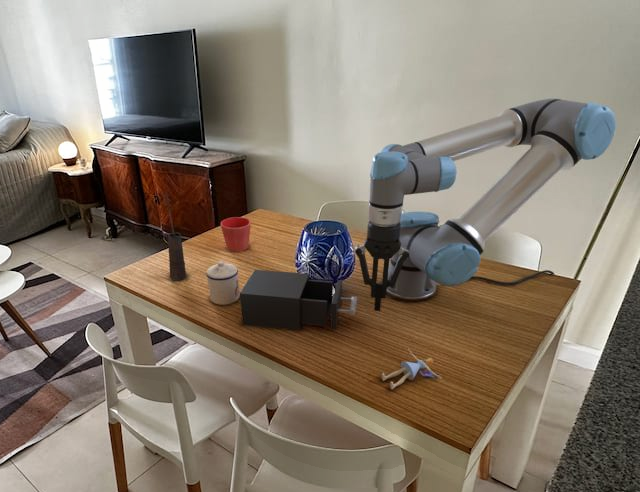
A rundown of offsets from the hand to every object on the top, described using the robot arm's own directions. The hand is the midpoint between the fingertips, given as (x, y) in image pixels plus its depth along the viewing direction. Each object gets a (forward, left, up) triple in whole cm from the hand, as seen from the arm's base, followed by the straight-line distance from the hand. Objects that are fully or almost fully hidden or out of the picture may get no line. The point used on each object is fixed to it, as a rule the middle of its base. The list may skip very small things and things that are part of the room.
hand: (377, 308), depth 116 cm
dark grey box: (+27, 0, -5) cm, 27 cm away
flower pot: (+52, -41, -5) cm, 66 cm away
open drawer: (+15, 0, -4) cm, 15 cm away
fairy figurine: (-8, +20, -5) cm, 22 cm away
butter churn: (+63, -15, -5) cm, 65 cm away
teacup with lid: (+45, -7, -5) cm, 46 cm away
